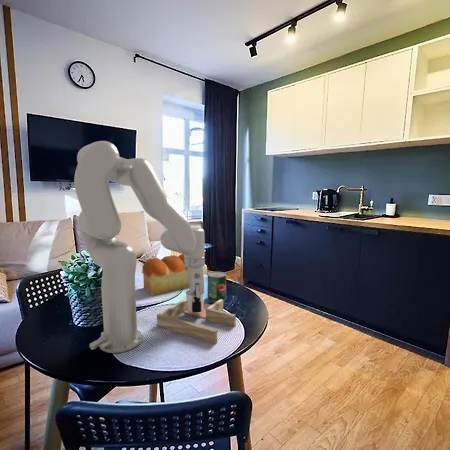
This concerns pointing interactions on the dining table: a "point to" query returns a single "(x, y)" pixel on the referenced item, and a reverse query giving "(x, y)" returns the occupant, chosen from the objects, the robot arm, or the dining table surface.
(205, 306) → the pad
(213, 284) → the canned tomato
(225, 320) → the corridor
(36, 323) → the dining table surface
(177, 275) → the bread
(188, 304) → the shot glass
